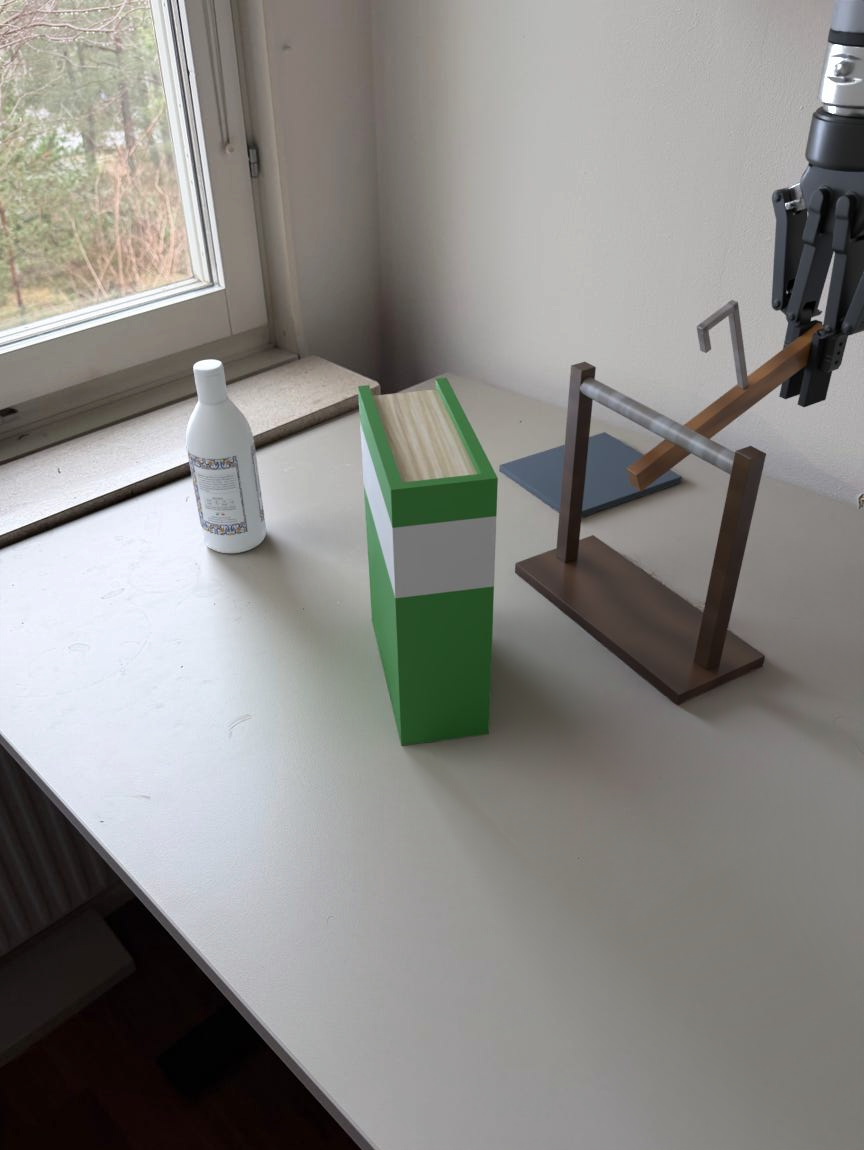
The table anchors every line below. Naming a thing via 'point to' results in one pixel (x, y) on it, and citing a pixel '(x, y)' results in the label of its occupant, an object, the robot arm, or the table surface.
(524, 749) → the table surface
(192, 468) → the bath foam
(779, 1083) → the table surface
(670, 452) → the hanger
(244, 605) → the table surface
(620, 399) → the rail stand
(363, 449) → the hardback book
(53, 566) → the table surface
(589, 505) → the mat
